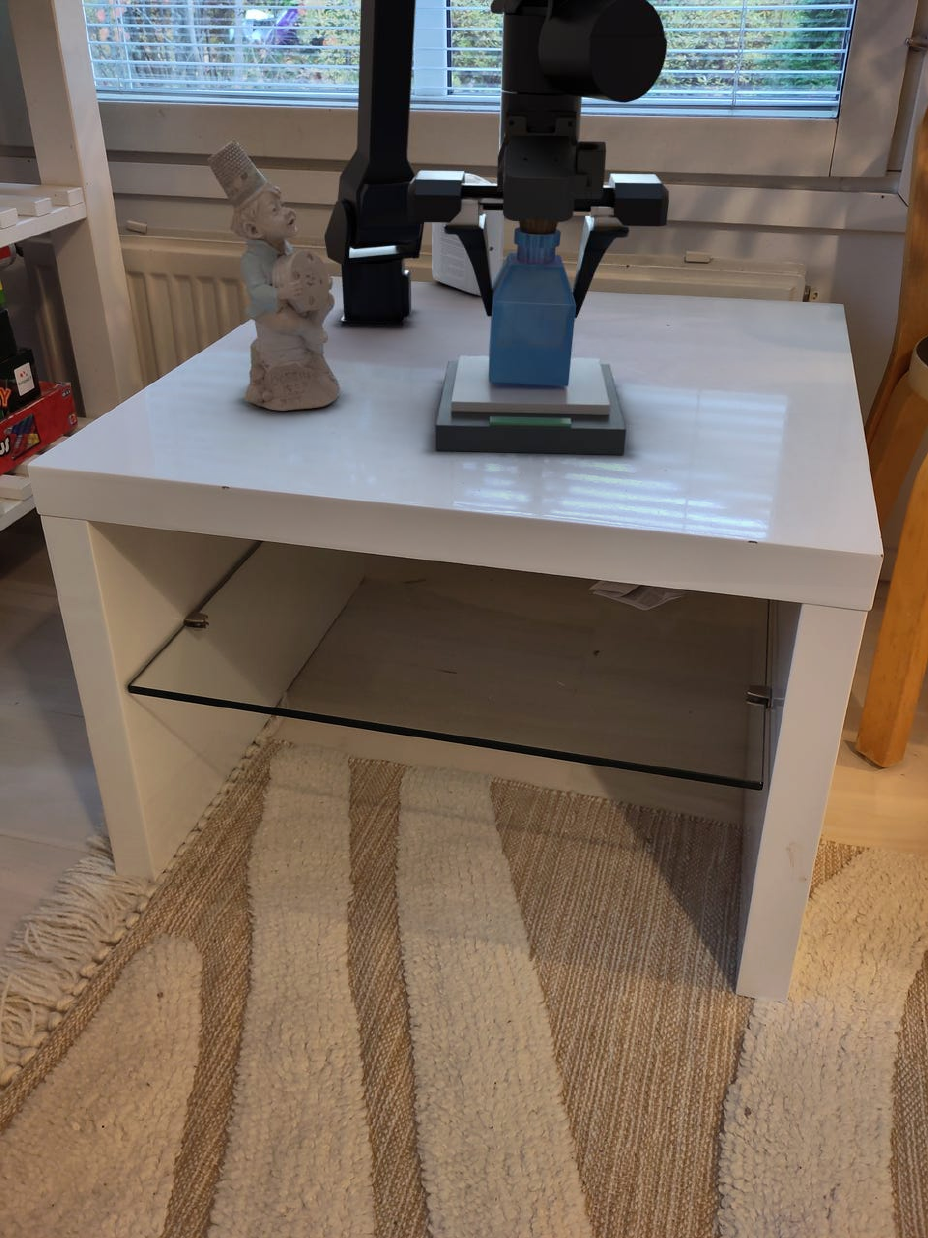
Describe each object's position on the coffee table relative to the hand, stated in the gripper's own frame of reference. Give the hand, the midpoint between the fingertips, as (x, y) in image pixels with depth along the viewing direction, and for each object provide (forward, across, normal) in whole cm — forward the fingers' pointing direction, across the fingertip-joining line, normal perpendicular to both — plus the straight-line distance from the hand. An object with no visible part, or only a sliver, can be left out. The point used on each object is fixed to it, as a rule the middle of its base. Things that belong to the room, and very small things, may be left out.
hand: (531, 316), depth 79 cm
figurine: (+8, -20, +2) cm, 22 cm away
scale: (+8, 0, -1) cm, 8 cm away
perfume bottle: (+5, 0, 0) cm, 5 cm away
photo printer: (+8, -7, +43) cm, 44 cm away
